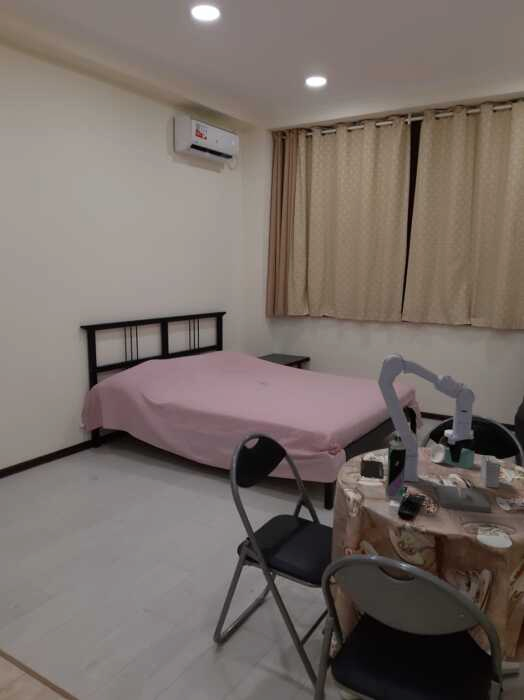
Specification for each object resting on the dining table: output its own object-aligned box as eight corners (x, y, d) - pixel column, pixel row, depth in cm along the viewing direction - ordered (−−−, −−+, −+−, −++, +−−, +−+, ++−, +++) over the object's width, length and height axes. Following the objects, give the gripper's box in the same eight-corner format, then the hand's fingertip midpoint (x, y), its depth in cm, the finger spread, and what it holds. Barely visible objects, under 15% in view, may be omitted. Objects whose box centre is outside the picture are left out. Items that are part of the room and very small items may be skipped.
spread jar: (468, 462, 195) (471, 433, 193) (457, 470, 186) (460, 439, 185) (438, 454, 203) (440, 426, 201) (426, 461, 194) (428, 432, 193)
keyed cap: (466, 469, 168) (467, 454, 168) (444, 462, 174) (445, 448, 173) (473, 465, 172) (474, 450, 171) (451, 459, 178) (452, 444, 177)
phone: (382, 461, 191) (382, 476, 176) (381, 464, 191) (382, 479, 177) (360, 459, 193) (359, 474, 178) (360, 462, 193) (359, 477, 178)
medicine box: (498, 488, 171) (501, 463, 170) (484, 487, 172) (487, 462, 170) (493, 479, 178) (495, 455, 177) (479, 478, 179) (481, 454, 178)
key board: (441, 507, 155) (443, 491, 155) (435, 488, 169) (436, 474, 168) (490, 512, 153) (491, 496, 152) (480, 493, 166) (481, 478, 166)
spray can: (393, 500, 159) (397, 439, 156) (381, 493, 164) (385, 434, 161) (406, 497, 162) (410, 437, 159) (394, 491, 167) (398, 432, 164)
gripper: (464, 428, 163) (460, 468, 165) (483, 420, 173) (479, 458, 175) (443, 423, 168) (440, 462, 170) (463, 416, 178) (460, 452, 180)
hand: (459, 460), depth 173 cm, fingers closed on keyed cap, 5 cm apart
